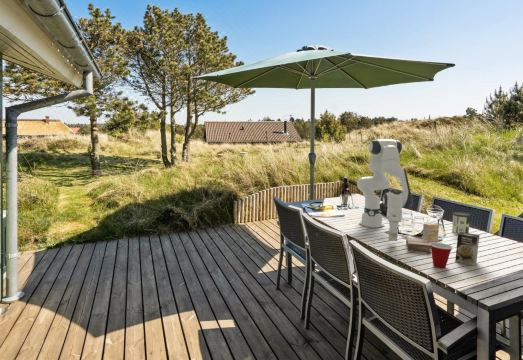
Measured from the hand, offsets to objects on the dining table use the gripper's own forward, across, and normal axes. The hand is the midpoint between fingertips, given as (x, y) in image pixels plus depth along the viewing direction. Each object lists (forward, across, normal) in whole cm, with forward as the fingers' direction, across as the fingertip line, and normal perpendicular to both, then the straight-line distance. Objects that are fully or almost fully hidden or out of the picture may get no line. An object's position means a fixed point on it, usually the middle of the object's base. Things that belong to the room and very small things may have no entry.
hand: (392, 236), depth 192 cm
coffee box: (+6, +13, +38) cm, 40 cm away
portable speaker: (+8, -79, -4) cm, 79 cm away
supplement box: (+6, -14, +22) cm, 27 cm away
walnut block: (+6, 0, +14) cm, 16 cm away
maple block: (+2, 0, 0) cm, 2 cm away
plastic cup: (+6, +24, +24) cm, 34 cm away
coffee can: (+6, -46, +44) cm, 64 cm away
